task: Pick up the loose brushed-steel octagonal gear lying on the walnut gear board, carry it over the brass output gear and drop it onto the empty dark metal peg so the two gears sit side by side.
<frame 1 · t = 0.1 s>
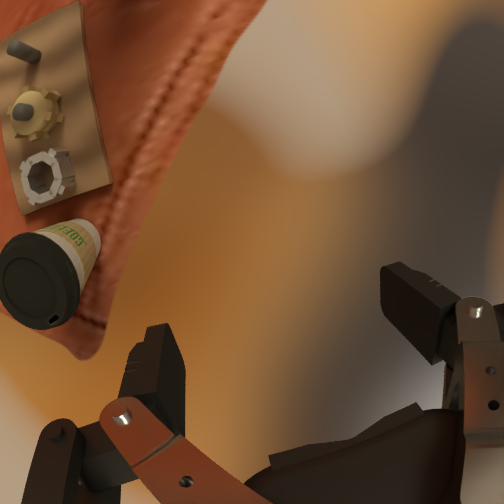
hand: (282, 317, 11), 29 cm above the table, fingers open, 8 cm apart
coffee cup: (80, 241, 37), on the table
steel gear: (54, 173, 33), point 1 cm above the table, touching gear board
gear board: (45, 104, 31), on the table
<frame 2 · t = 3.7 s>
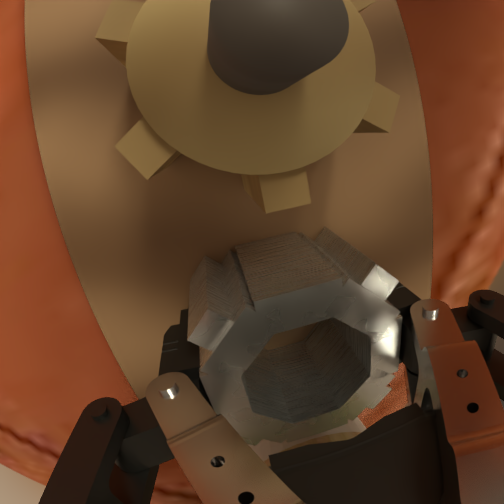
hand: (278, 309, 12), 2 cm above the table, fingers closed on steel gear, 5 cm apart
coffee cup: (298, 423, 17), on the table
steel gear: (278, 308, 12), point 2 cm above the table, touching gripper
gear board: (224, 55, 10), on the table
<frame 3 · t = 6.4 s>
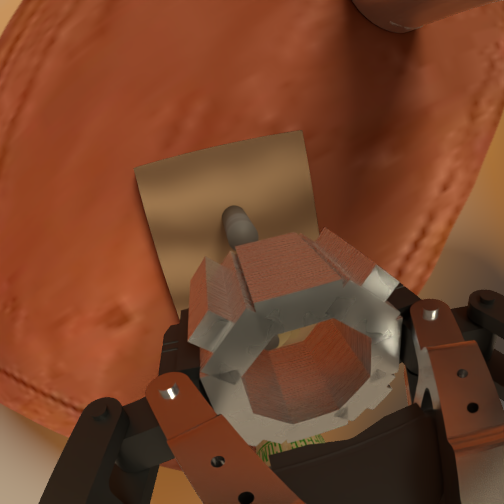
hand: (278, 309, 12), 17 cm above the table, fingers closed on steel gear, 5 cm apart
coffee cup: (278, 412, 37), on the table
steel gear: (279, 309, 12), point 17 cm above the table, touching gripper
gear board: (248, 284, 30), on the table
when the fingers open (4 cm above the table, at t = 9.2 s): steel gear drops 3 cm, resting on gear board.
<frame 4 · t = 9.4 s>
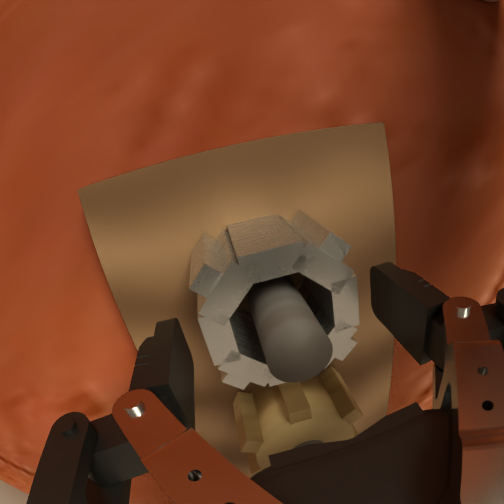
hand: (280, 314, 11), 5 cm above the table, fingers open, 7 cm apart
steel gear: (263, 277, 15), point 1 cm above the table, touching gear board
gear board: (279, 368, 18), on the table
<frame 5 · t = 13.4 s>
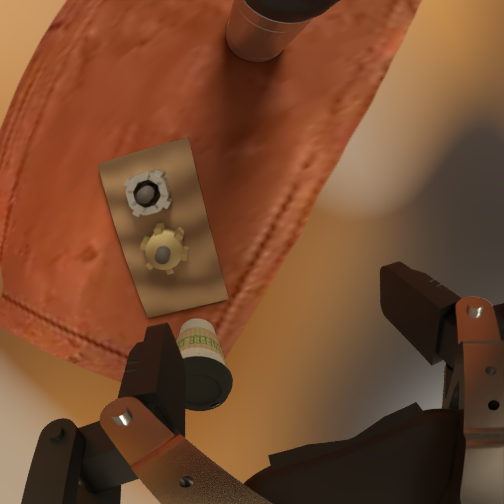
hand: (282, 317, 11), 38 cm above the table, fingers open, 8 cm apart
coffee cup: (197, 332, 55), on the table
steel gear: (151, 189, 44), point 1 cm above the table, touching gear board
gear board: (164, 231, 48), on the table
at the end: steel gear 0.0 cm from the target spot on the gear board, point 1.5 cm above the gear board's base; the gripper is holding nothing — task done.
